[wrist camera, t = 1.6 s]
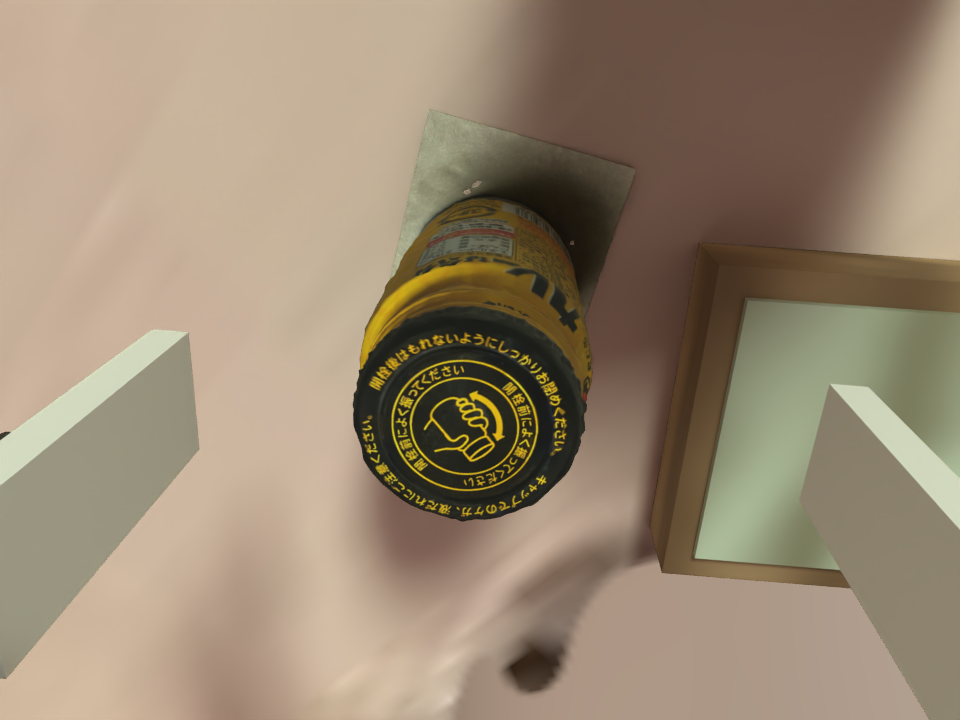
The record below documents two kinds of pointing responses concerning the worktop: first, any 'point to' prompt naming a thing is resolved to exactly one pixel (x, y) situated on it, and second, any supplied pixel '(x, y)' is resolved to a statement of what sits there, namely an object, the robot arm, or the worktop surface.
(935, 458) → the robot arm
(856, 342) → the stand
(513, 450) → the condiment
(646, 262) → the worktop surface
